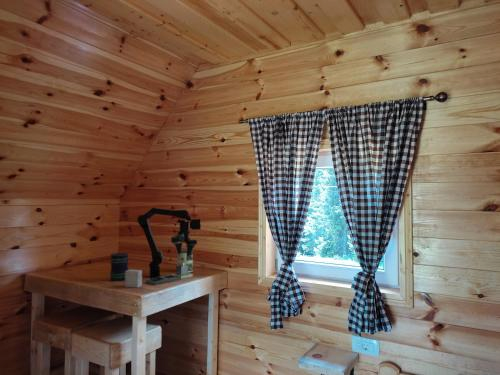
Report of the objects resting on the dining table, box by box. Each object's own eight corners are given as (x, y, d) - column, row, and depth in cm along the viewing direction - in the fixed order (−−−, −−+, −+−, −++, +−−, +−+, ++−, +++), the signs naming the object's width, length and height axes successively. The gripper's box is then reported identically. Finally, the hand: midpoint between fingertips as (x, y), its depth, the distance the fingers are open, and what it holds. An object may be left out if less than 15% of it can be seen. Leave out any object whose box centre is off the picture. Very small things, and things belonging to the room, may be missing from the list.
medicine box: (142, 286, 201) (142, 270, 201) (137, 287, 196) (137, 271, 197) (129, 285, 203) (129, 269, 203) (124, 287, 198) (125, 270, 199)
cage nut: (176, 276, 225) (176, 263, 225) (182, 274, 228) (182, 262, 229) (181, 277, 221) (181, 264, 222) (187, 276, 225) (187, 263, 225)
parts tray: (171, 276, 224) (171, 274, 224) (183, 274, 231) (183, 272, 231) (180, 279, 218) (180, 276, 218) (192, 276, 225) (192, 274, 225)
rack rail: (145, 282, 208) (145, 279, 208) (171, 277, 222) (171, 274, 222) (155, 285, 202) (155, 281, 202) (181, 279, 216) (181, 276, 216)
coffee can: (191, 269, 248) (191, 248, 249) (193, 272, 238) (193, 250, 239) (176, 270, 245) (176, 249, 246) (177, 273, 235) (177, 251, 236)
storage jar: (107, 281, 211) (108, 255, 211) (113, 278, 220) (113, 253, 221) (125, 281, 211) (125, 255, 212) (129, 277, 221) (130, 253, 222)
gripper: (164, 229, 228) (163, 254, 227) (183, 231, 216) (183, 258, 215) (178, 228, 236) (178, 253, 236) (197, 230, 224) (197, 256, 224)
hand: (183, 255), depth 227 cm, fingers open, 9 cm apart
